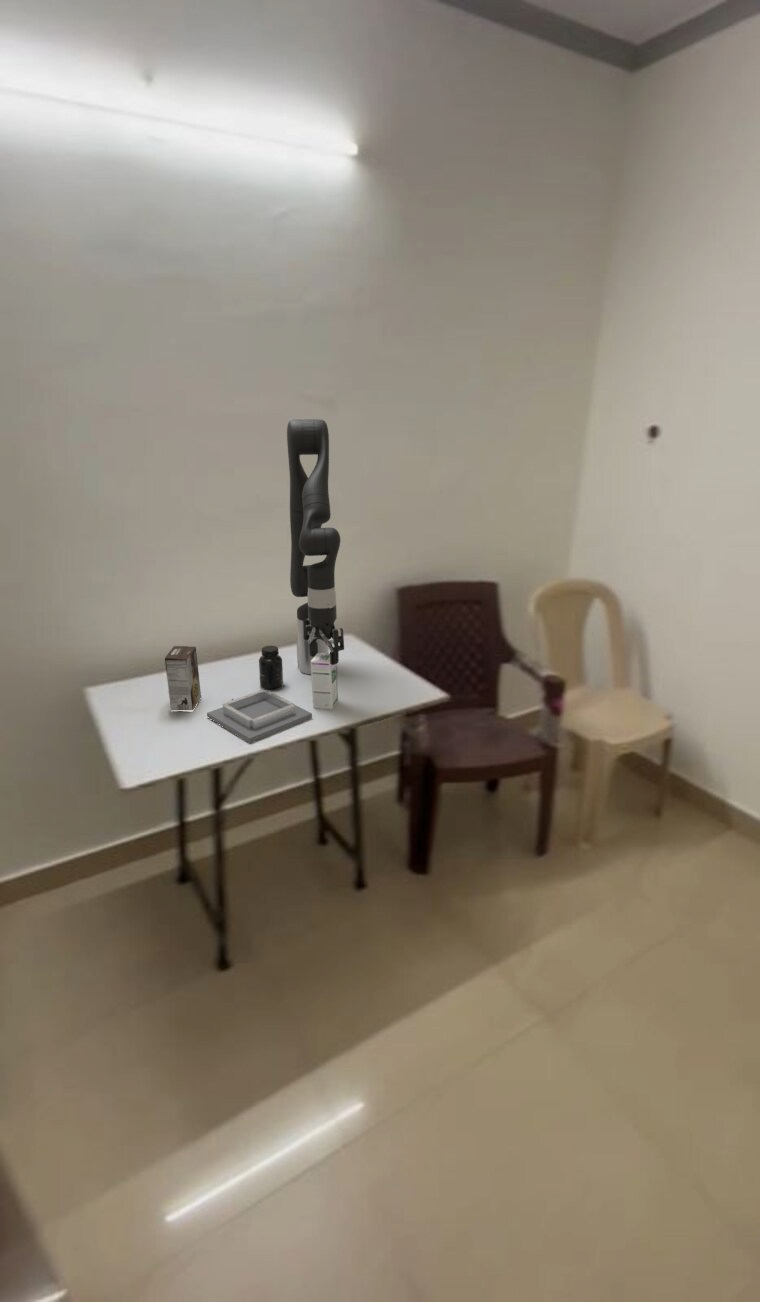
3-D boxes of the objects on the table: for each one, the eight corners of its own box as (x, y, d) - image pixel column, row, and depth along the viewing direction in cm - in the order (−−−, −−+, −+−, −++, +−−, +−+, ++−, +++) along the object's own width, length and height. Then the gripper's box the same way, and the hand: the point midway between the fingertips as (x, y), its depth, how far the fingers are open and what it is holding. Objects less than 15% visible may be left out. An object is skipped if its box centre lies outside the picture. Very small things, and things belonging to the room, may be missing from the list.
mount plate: (207, 717, 196) (206, 712, 196) (268, 695, 209) (267, 691, 208) (250, 743, 183) (249, 738, 182) (312, 718, 196) (311, 713, 195)
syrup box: (332, 710, 200) (331, 661, 195) (312, 708, 201) (310, 659, 196) (338, 701, 205) (336, 653, 200) (318, 699, 207) (316, 652, 201)
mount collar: (221, 712, 195) (220, 704, 195) (265, 696, 205) (265, 688, 204) (252, 730, 186) (251, 722, 185) (297, 713, 195) (296, 704, 194)
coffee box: (179, 698, 208) (173, 645, 202) (202, 698, 208) (196, 645, 202) (170, 712, 199) (163, 657, 193) (193, 712, 199) (187, 657, 193)
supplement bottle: (256, 688, 214) (253, 650, 209) (267, 679, 220) (264, 642, 215) (276, 692, 211) (274, 653, 207) (287, 683, 217) (285, 645, 213)
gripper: (294, 600, 195) (297, 656, 201) (328, 611, 185) (330, 670, 191) (315, 594, 200) (318, 650, 206) (350, 605, 190) (351, 663, 196)
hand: (324, 659), depth 198 cm, fingers open, 8 cm apart
